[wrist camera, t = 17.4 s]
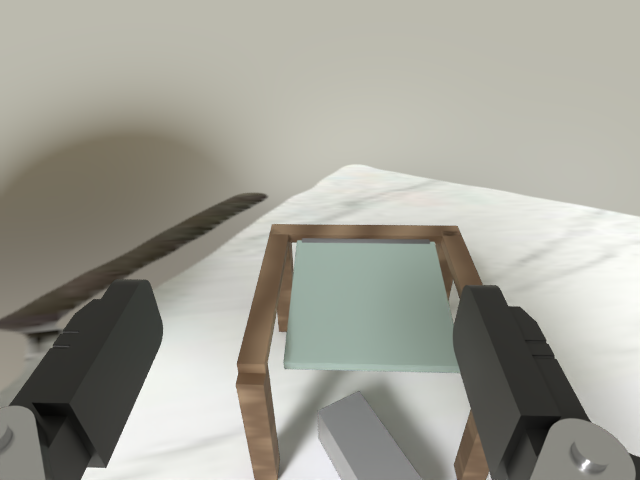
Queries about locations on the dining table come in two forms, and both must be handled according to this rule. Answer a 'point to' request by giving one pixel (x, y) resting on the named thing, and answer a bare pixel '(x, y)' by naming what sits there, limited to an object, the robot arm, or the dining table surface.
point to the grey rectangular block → (361, 442)
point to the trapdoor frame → (260, 325)
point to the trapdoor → (369, 307)
